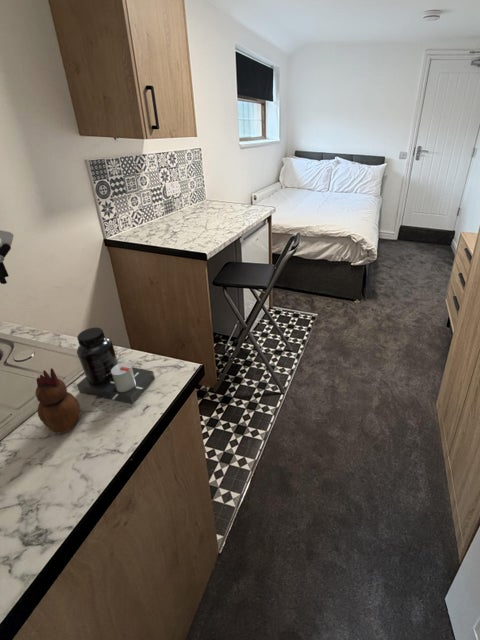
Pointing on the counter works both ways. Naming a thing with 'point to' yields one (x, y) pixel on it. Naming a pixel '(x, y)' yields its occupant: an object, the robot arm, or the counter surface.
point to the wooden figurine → (56, 404)
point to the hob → (110, 391)
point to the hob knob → (123, 377)
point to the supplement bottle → (96, 355)
